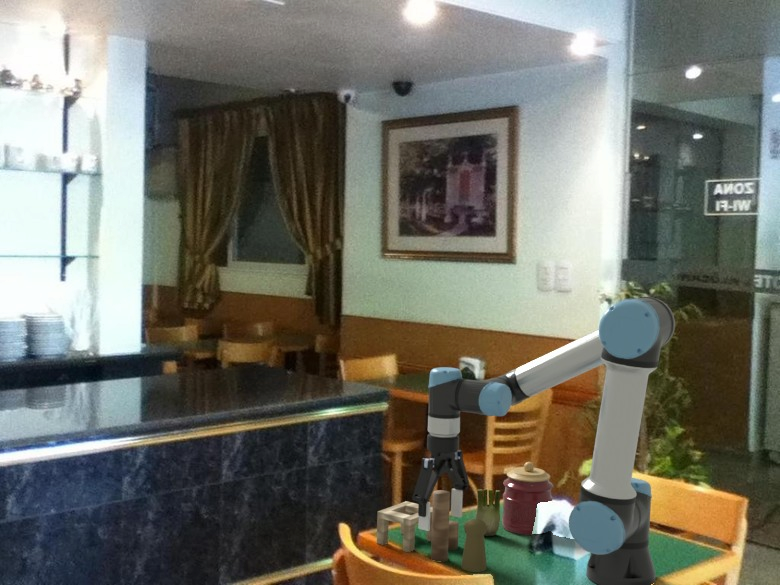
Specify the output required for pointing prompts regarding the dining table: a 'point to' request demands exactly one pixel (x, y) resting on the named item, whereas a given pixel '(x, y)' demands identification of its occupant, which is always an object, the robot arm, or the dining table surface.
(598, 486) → the robot arm
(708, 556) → the dining table surface
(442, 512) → the long pin
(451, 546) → the short pin
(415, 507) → the open square stand
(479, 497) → the fennel bulb
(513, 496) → the canister
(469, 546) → the olive tapered knobbed peg
